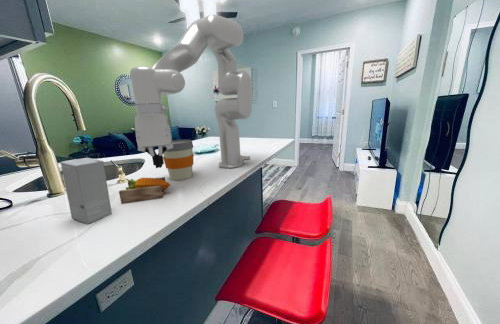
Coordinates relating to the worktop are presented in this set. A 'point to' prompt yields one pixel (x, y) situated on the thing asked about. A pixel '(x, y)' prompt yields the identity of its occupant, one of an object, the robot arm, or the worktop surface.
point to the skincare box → (86, 189)
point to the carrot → (148, 183)
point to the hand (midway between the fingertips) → (159, 166)
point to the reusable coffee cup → (179, 159)
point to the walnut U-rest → (141, 193)
